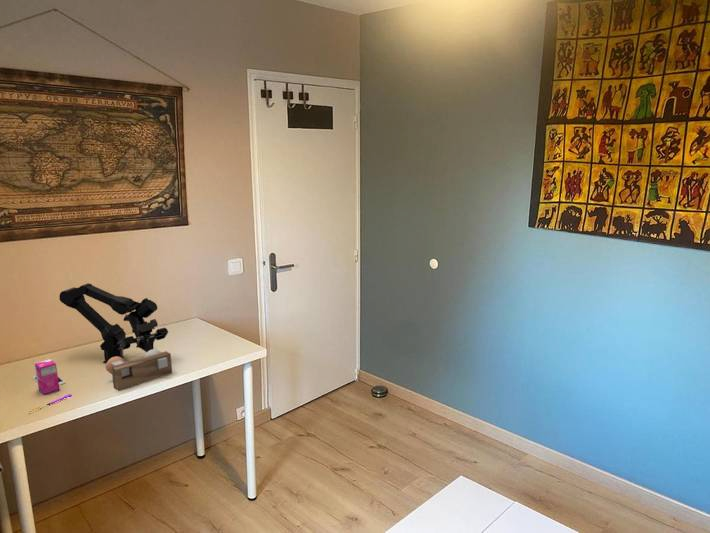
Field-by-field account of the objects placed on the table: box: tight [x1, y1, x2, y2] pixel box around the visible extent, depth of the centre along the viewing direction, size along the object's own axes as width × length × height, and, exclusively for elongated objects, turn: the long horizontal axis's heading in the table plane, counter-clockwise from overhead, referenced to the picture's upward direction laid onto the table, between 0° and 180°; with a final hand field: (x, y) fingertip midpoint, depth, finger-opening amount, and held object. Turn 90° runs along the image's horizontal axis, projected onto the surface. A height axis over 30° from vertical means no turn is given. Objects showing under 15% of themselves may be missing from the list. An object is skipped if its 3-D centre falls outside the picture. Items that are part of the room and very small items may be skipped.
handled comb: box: [28, 393, 73, 412], centre depth 182 cm, size 3×1×16 cm
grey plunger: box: [144, 348, 168, 369], centre depth 207 cm, size 9×7×7 cm
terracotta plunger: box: [105, 356, 130, 377], centre depth 199 cm, size 9×7×7 cm
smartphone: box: [32, 375, 66, 386], centre depth 201 cm, size 7×15×1 cm, turn 49°
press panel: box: [111, 350, 173, 392], centre depth 201 cm, size 4×22×9 cm, turn 137°
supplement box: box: [34, 358, 61, 396], centre depth 192 cm, size 6×6×12 cm
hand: (152, 355), depth 210 cm, fingers closed, pressing on grey plunger
